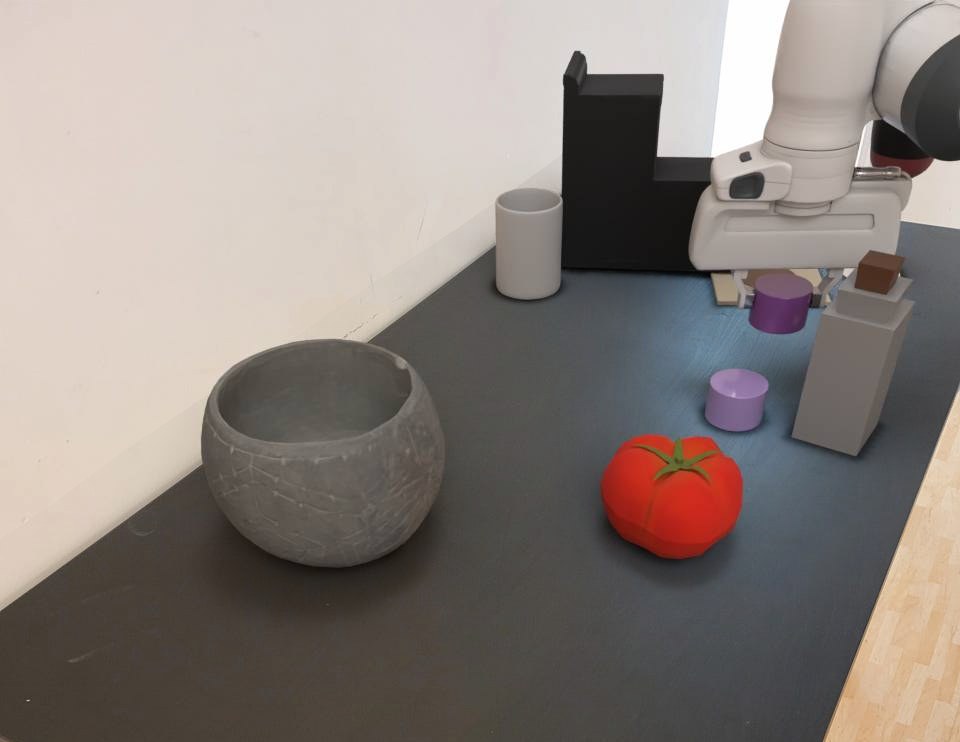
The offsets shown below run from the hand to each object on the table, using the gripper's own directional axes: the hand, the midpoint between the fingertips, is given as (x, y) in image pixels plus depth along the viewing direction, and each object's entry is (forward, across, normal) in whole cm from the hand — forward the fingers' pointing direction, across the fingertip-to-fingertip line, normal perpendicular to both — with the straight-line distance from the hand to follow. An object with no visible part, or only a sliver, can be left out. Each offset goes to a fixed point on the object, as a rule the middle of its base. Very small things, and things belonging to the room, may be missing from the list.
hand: (779, 306), depth 99 cm
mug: (+8, +27, -25) cm, 38 cm away
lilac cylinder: (+8, +4, +8) cm, 12 cm away
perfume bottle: (+9, -6, +10) cm, 15 cm away
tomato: (+8, +13, +28) cm, 32 cm away
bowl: (+8, +44, +29) cm, 53 cm away
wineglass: (+9, -18, -28) cm, 34 cm away
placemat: (+9, -4, -25) cm, 27 cm away
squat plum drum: (+2, 0, 0) cm, 2 cm away
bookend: (+8, +11, -32) cm, 35 cm away
